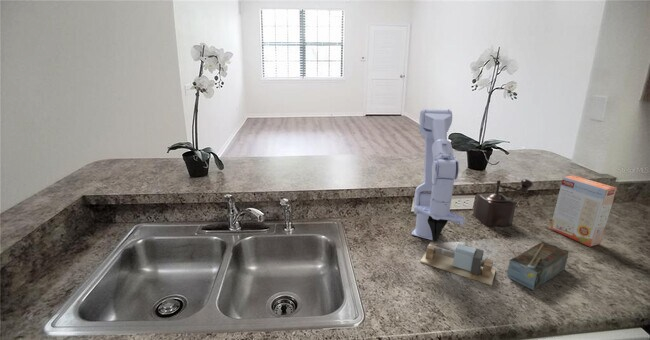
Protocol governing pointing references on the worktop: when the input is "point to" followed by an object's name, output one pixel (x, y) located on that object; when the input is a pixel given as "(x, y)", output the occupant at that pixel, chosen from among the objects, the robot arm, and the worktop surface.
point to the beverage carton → (537, 265)
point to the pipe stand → (445, 261)
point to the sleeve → (464, 257)
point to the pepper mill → (497, 206)
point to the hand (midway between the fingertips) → (435, 239)
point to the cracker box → (583, 209)
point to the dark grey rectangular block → (476, 262)
